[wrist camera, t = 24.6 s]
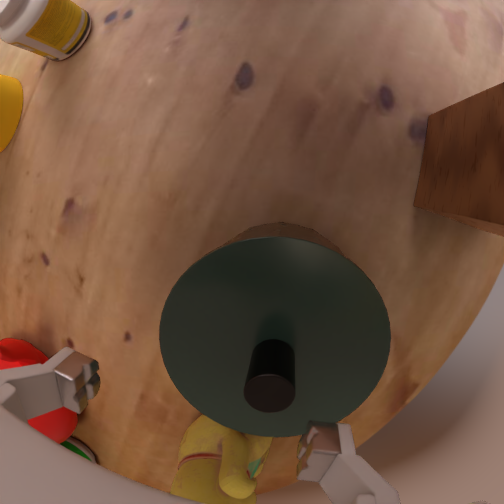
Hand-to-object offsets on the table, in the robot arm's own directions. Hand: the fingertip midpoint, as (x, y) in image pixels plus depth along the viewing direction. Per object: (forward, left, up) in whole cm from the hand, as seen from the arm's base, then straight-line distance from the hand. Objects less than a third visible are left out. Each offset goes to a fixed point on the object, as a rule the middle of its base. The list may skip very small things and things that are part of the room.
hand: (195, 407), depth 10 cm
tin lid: (+1, +3, -7) cm, 8 cm away
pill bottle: (-21, -24, -16) cm, 36 cm away
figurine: (+16, +2, -16) cm, 23 cm away
